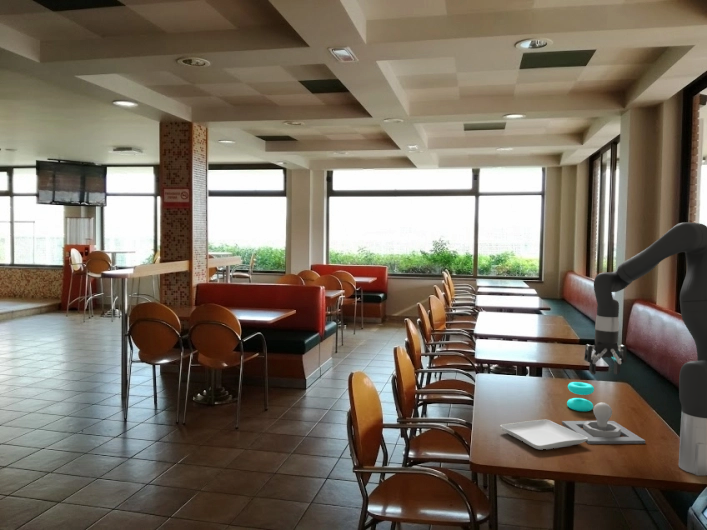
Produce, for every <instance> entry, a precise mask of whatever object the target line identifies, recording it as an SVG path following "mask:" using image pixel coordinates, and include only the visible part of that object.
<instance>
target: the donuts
mask: <svg viewBox="0 0 707 530" xmlns="http://www.w3.org/2000/svg"><path fill="white" fill-rule="evenodd" d="M567 389H568V390H569V392H571V393H573V394H575V395H581V396H588V395H591V394H593V393H594V391H595V387H594V386H593V384H591V383H587V382H582V381H570V382H569V383H568V385H567ZM566 405H567V407H568V408H569V409H570V410H572V411H577V412H590V411H592V410H593V409H594V403H592V401H590V400H589V399H586V398H582V397H573V398H569V399H568V400H567V402H566Z"/></svg>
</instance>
